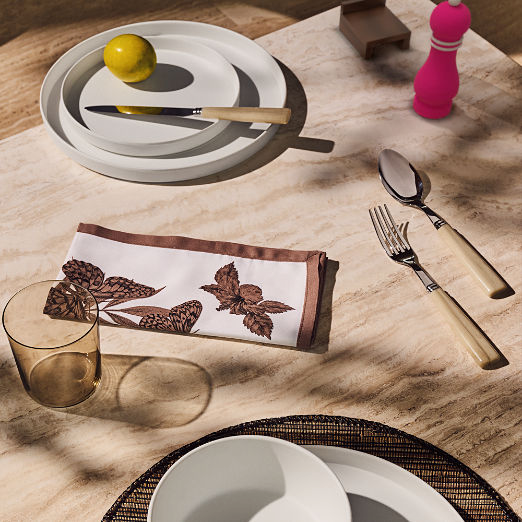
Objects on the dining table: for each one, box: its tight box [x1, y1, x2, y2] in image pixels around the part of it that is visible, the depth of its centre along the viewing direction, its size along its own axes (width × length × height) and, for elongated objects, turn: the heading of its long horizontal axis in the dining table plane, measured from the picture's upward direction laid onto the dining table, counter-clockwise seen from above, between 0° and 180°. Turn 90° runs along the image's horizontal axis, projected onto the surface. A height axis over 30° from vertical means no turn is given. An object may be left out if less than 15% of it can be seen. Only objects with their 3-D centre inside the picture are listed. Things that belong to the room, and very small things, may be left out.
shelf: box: [338, 0, 412, 60], centre depth 125 cm, size 9×11×6 cm
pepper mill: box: [412, 0, 472, 120], centre depth 106 cm, size 7×7×20 cm
